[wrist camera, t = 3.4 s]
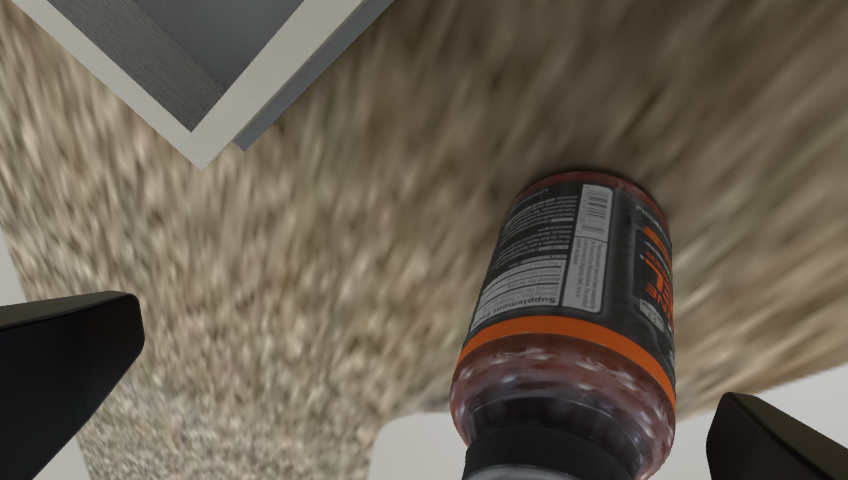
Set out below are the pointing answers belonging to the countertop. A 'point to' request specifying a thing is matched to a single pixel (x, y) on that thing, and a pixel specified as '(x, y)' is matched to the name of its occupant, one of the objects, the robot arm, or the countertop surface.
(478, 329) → the supplement bottle
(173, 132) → the plate
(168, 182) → the countertop surface
